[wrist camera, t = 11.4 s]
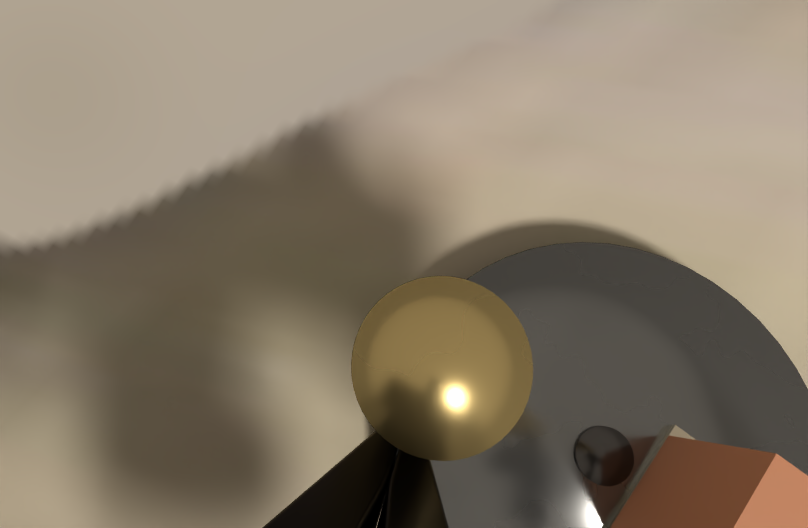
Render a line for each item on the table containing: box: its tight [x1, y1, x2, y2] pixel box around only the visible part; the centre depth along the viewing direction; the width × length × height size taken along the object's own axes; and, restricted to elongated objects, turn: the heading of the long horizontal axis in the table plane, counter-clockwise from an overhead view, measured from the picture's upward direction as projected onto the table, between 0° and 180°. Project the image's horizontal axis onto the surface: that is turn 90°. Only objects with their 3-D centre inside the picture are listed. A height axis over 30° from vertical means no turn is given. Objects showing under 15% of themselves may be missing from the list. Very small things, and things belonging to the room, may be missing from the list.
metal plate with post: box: [351, 242, 808, 528], centre depth 12 cm, size 14×14×11 cm
